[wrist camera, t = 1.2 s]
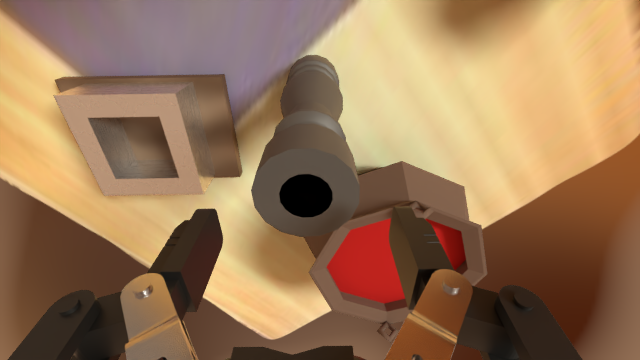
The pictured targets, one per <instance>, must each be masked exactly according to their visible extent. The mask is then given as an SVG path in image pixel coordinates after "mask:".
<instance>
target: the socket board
mask: <svg viewBox="0 0 640 360" xmlns="http://www.w3.org/2000/svg"><path fill="white" fill-rule="evenodd" d="M55 82H56V84H57V86H58V88H59V90H60V92H64V91H67V90H70V89H72V88H75V87H78V86H81V85H83V84H98V83H160V82H193V84H194V89H195V93H196V97H197V101H198V105H199V109H200V113H201V117H202V121H203V126H204V130H205V134H206V138H207V142H208V146H209V150H210V154H211V158H212V163H213V167H214V171H215V176H214V177H240V176H241V174H242V167H241V161H240V156H239V151H238V145H237V140H236V134H235V129H234V123H233V118H232V113H231V107H230V102H229V96H228V91H227V85H226V80H225V74H219V75H158V76H97V77H62V78H59V79H56V80H55ZM120 119H121V122H122V124H123V127H124V129H125V132H126V134H127V137H128V139H129V142H130V144H131V147H132V149H133V152H134V154H135V157H136V159H137V160H173V157H172V154H171V151H170V148H169V145H168V142H167V139H166V136H165V133H164V130H163V127H162V123H161V120H160V117H120Z"/></svg>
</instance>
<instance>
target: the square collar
mask: <svg viewBox="0 0 640 360" xmlns="http://www.w3.org/2000/svg"><path fill="white" fill-rule="evenodd" d="M53 96H54V98H55V100H56V102H57V104H58V106H59V108H60V110H61V112H62V114H63V116H64V118H65V120H66V122H67V124H68V126H69V128H70V129H71V131H72V133H73V135H74V137H75V139H76V141H77V143H78V145H79V147H80V149H81V151H82V153H83V155H84V157H85V159H86V161H87V163H88V165H89V167H90V169H91V171H92V173H93V175H94V177H95V179H96V181H97V183H98V185H99V187H100V189H101V191H102V193H103V195H104V196H109V195H178V194H204V193H205V191H206V189H207V188H208V186H209V184H210V183H211V181H212V179H213V177H214V176H215V171H214V167H213V163H212V158H211V154H210V150H209V146H208V142H207V138H206V134H205V130H204V126H203V121H202V117H201V113H200V109H199V105H198V101H197V97H196V93H195V89H194V84H193V82H160V83H98V84H83V85H81V86H78V87H75V88H72V89H70V90H67V91H64V92H61V93H59V94H56V95H53ZM120 117H160V120H161V123H162V127H163V130H164V133H165V136H166V139H167V142H168V145H169V148H170V151H171V154H172V157H173V160H137V159H136V157H135V154H134V152H133V149H132V147H131V144H130V142H129V139H128V137H127V134H126V132H125V129H124V127H123V124H122V122H121V119H120Z"/></svg>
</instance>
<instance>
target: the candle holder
mask: <svg viewBox="0 0 640 360" xmlns="http://www.w3.org/2000/svg"><path fill="white" fill-rule="evenodd" d="M280 102H281V110H282V114H283V117H284V119H283V120H282V121H281V122H280V123H279V124H278V125H277V127H276V130H275V133H274V136H273V138H272V139H271V140H270V142H269V143H268V144H267V145H266V147H265V150H264V152H263V155H262V158H261V161H260V164H259V166H258V169H257V172H256V175H255V179H254V182H253V186H252V189H251V191H252V196H253V201H254V206H255V208H256V210H257V211H258V212H259V214H260V215H261V216H262V218H263V219H264V220H265V222H267V223H268V224H270V225H271V226H273V227H274V228H276V229H278V230H279V231H281V232H284V233H288V234H291V235H295V236H299V237H306V236H321V235H323V234H326V233H329V232H332V231H335V230H337V229H338V228H340V227H341V226H342V225H343V224H345V223H346V222H347V221H348V220H350V219H351V217H352V216H353V214H354V212H355V210H356V208H357V206H358V205H359V193H360V185H359V180H358V176H357V171H356V167H355V162H354V158H353V155H352V153H351V151H350V149H349V146H348V144H347V142H346V137H345V135H344V132H343V130H342V128H341V126H340V124H339V123H338V120H339V118H340V115H341V113H342V110H343V97H342V94H341V92H340V90H339V79H338V75H337V73H336V70H335V68H334V66H333V65H332V64H331V63H330V62H329V61H328V60H327V59H326V58H323V57H321V56H318V55H307V56H305V57H303V58H301V59H299V60H298V61H297V62H296V63H295V64H294V66H293V67H292V68H291V71H290V73H289V76H288V80H287V83H286V86H285V87H284V90H283V93H282V97H281V100H280Z"/></svg>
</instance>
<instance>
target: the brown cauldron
mask: <svg viewBox="0 0 640 360" xmlns="http://www.w3.org/2000/svg"><path fill="white" fill-rule="evenodd" d="M358 180H359V185H360V193H359V205H358V206H357V208H356V210H355V212H354V214H353V216H352V217H351V219H350V220H348V221H347V222H346V223H345V224H343V225H342V226H341V227H340V228H338V229H337V230H335V231H332V232H329V233H326V234H323V235H321V236H306V237H304V238H305V240H306V242H307V244H308V245H309V247H310V249H311V251H312V253H313V254H314V256H315V258H316V261H315V263H314V264H313V266H312V268H311V269H310V271H309V274H310V275H311V277H312V279H313V280H314V282H315V284H316V285H317V287H318V288H319V290H320V292H321V293H322V295H323V297H324V298H325V300H326V301H327V303H328V305H329V306H330V308H331V310H332V311H334V312H339V313H342V314H346V315H350V316H354V317H357V318H361V319H365V320H369V321H372V322H376V323H380V324H383V325H382V326H381V327H380V328H379V329H378V330H377V331H378V333H380V334H381V335H382V336H383V337H384V338H386V339H387V340H388V341H389V342H391V341H392V340H393V338H394V337H395V336H396V335H397V333H398V332H399V331H398V330H397V329H396V328H394V327H393V326H392V325H391V324H393V323H397V322H402V321H405V319H406V318H407V316H408V314H409V313H410V312H411V313H412V312H413V310H408V306H407V303H406V299H405V296H404V293H403V289H402V286H401V282H400V279H399V275H398V272H397V268H396V265H395V262H394V258H393V255H392V251H391V248H390V244H389V229H390V222H391V216H392V210H393V207H406V206H410V207H411V208H412V209H413V212H414V214H415V216H416V218H424V219H425V220H426V221H428V222H429V223H430V224H431V225H432V227H433V229H434V231H435V233H436V236H437V237H438V239H439V241H440V243H441V245H442V247H443V249H444V251H445V253H446V255H447V257H448V259H449V260H450V262H451V264H452V266H453V268H454V270H455V271H456V272H458V273H460V274H461V275H463V276H464V277H465V278H466V279H467V280H468V281H469V282H470V284H471V285H472V286H474V285H476V284H477V283H478V282H479V281H480V280H481V279H482V278H483V277H484V276H486V275H487V268H486V261H485V252H484V244H483V236H482V228H481V225H479V224H476V223H473V222H471V221H469V216H468V209H467V202H466V196H465V189H464V186H461V185H459V184H456V183H454V182H451V181H449V180H447V179H444V178H442V177H439V176H437V175H434V174H432V173H429V172H427V171H425V170H422V169H420V168H417V167H415V166H412V165H410V164H407V163H405V162H403V161H401V162H398V163H395V164H392V165H389V166H386V167H383V168H380V169H377V170H374V171H371V172H368V173H365V174H362V175H359V176H358ZM387 327H388V328H389V329H390V330H391V331H392V332H391V334H390V335H388V334H386V333H385V332H384V330H385V329H386V328H387Z"/></svg>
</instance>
